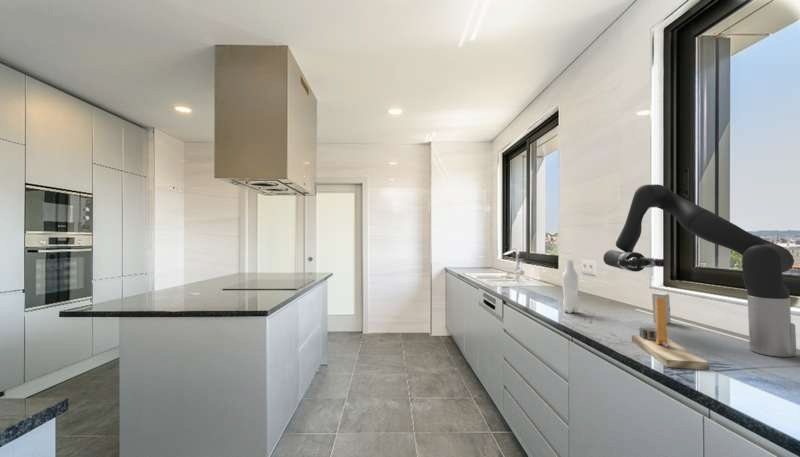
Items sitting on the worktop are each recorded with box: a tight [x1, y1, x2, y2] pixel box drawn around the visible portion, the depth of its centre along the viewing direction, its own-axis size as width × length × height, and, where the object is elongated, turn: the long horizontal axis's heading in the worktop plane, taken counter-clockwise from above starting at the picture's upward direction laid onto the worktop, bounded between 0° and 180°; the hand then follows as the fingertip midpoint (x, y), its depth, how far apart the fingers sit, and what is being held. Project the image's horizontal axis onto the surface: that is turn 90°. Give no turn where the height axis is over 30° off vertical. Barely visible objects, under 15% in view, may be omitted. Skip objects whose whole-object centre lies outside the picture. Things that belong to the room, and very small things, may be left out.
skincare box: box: [651, 292, 672, 324], centre depth 152 cm, size 6×4×12 cm
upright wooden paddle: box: [647, 297, 670, 348], centre depth 116 cm, size 4×10×15 cm, turn 166°
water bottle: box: [561, 259, 580, 314], centre depth 175 cm, size 7×7×25 cm
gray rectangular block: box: [639, 327, 656, 340], centre depth 121 cm, size 6×6×3 cm
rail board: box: [631, 335, 710, 370], centre depth 112 cm, size 10×26×2 cm, turn 166°
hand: (648, 263), depth 129 cm, fingers open, 8 cm apart
